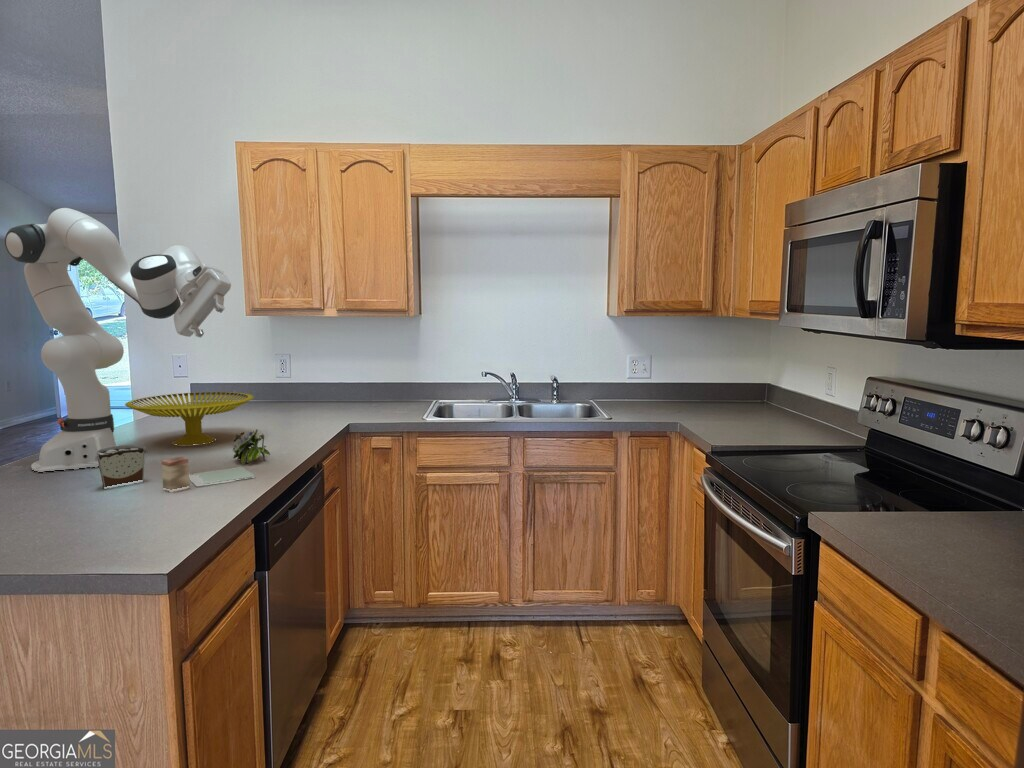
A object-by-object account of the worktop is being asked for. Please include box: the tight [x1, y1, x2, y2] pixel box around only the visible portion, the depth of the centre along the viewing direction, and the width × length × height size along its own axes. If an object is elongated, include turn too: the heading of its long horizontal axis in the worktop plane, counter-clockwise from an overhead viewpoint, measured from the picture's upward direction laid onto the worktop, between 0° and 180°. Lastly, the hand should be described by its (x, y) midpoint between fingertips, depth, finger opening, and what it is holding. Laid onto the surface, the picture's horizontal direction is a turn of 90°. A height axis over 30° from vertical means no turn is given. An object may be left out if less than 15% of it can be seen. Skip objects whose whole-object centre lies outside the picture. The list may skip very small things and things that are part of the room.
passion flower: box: [232, 428, 271, 465], centre depth 199 cm, size 11×11×12 cm
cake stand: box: [124, 391, 255, 445], centre depth 225 cm, size 40×40×15 cm
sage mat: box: [189, 466, 256, 484], centre depth 180 cm, size 15×13×1 cm
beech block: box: [160, 456, 191, 490], centre depth 169 cm, size 5×4×8 cm
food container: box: [95, 444, 148, 488], centre depth 173 cm, size 12×6×10 cm, turn 141°
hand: (210, 322), depth 171 cm, fingers open, 8 cm apart
